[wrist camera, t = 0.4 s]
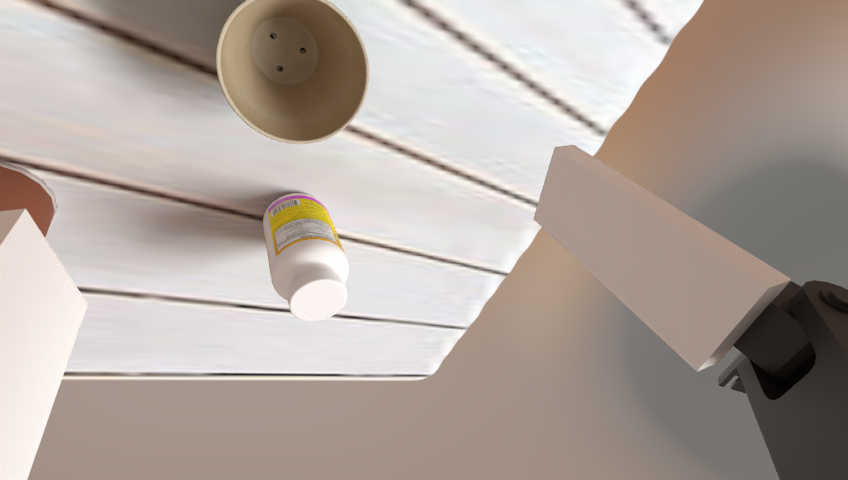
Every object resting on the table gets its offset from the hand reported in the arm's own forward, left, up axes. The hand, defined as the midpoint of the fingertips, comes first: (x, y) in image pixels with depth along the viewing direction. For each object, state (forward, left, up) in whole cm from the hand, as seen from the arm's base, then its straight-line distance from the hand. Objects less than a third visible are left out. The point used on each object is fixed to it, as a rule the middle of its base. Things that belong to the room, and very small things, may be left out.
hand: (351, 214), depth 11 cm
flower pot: (+2, +1, -27) cm, 27 cm away
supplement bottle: (+18, -1, -27) cm, 33 cm away
